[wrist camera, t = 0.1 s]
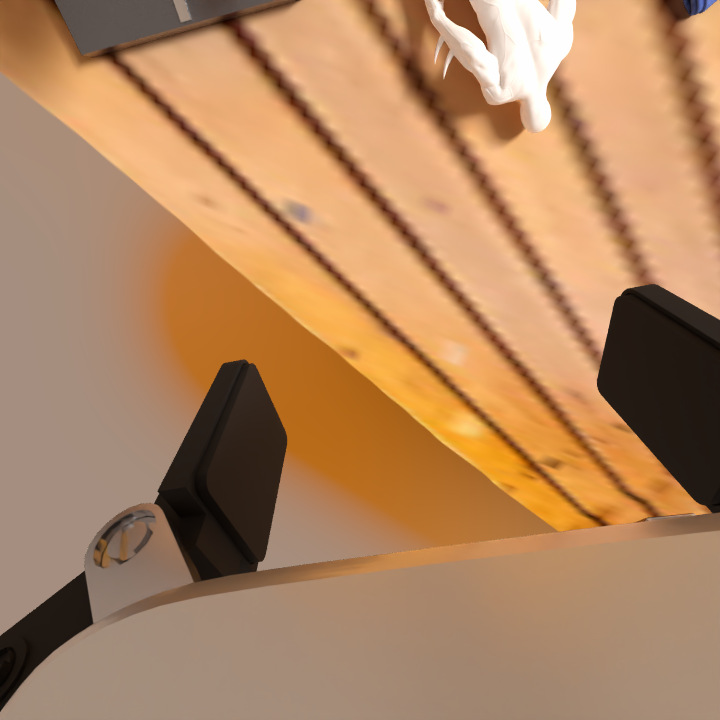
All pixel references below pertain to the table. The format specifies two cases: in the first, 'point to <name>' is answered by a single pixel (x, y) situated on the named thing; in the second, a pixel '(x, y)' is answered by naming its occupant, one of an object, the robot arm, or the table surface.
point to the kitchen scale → (145, 19)
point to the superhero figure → (511, 50)
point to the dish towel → (697, 6)
